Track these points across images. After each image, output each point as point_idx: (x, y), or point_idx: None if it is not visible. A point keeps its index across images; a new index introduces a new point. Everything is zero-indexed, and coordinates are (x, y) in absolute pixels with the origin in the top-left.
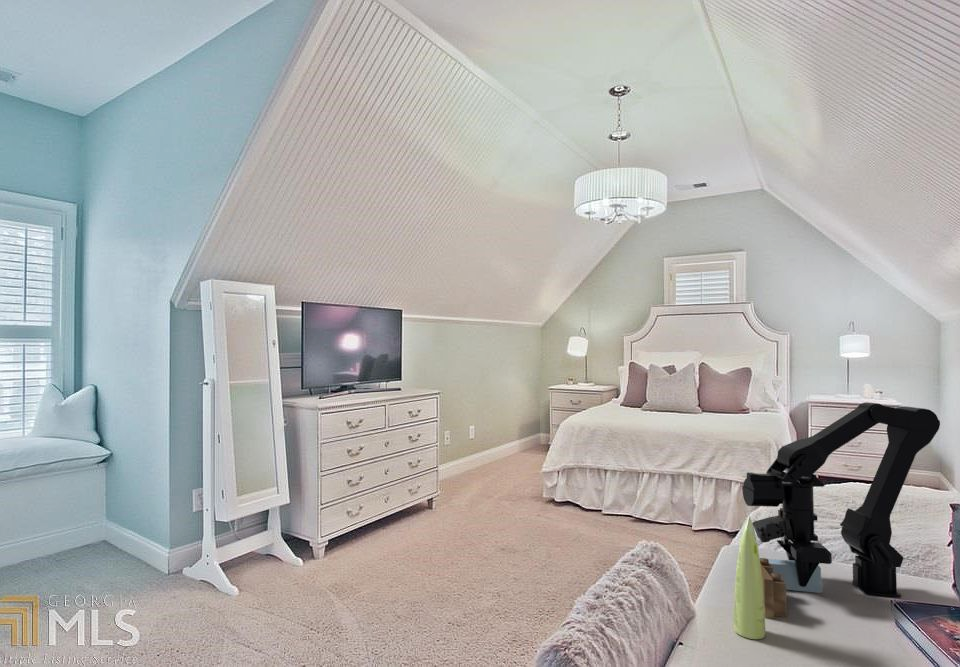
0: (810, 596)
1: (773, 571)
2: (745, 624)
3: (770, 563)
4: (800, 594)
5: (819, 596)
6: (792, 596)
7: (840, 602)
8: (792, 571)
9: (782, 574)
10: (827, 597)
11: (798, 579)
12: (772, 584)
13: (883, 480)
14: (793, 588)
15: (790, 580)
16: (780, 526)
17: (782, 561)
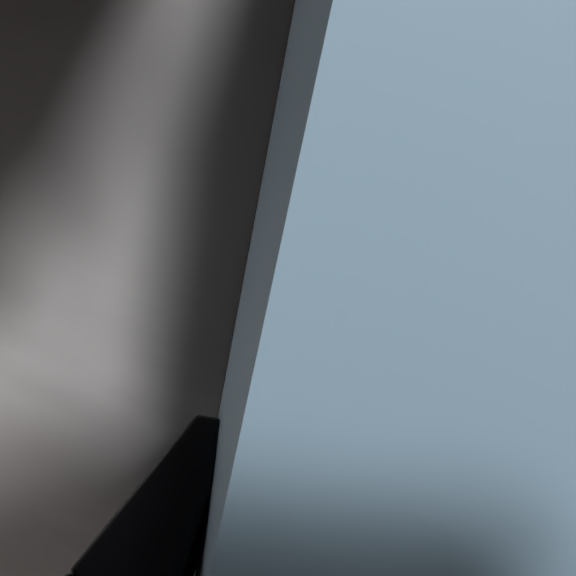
0: (87, 408)
1: (282, 154)
2: None
3: (329, 130)
4: (124, 339)
5: (106, 478)
6: (36, 222)
7: (3, 562)
8: (215, 500)
9: (249, 308)
10: (96, 524)
11: (183, 462)
12: None
13: None
14: (234, 333)
15: (232, 363)
16: None
17: (481, 544)
